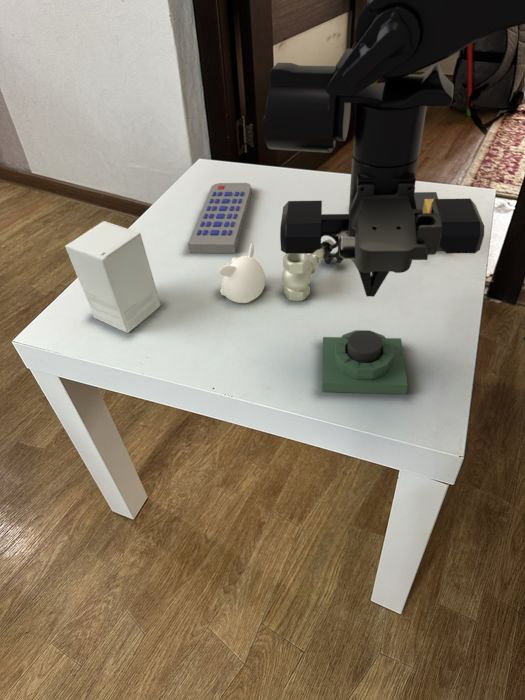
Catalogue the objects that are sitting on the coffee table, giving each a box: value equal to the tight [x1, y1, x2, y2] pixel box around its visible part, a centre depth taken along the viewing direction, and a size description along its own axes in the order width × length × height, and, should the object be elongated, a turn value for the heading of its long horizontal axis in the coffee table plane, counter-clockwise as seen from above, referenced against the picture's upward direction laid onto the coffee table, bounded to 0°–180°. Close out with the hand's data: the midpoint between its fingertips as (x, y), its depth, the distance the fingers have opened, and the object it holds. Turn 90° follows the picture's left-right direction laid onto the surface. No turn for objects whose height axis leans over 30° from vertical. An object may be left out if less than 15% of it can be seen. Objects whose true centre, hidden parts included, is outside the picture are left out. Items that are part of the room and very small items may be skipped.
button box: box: [321, 329, 409, 395], centre depth 61 cm, size 10×8×4 cm
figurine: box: [218, 242, 266, 304], centre depth 73 cm, size 8×6×7 cm
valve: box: [281, 235, 345, 302], centre depth 74 cm, size 7×7×12 cm
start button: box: [347, 329, 382, 363], centre depth 60 cm, size 4×4×2 cm
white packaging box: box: [64, 220, 161, 334], centre depth 70 cm, size 7×7×13 cm
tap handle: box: [423, 199, 434, 213], centre depth 77 cm, size 5×1×5 cm, turn 174°
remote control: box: [187, 182, 252, 254], centre depth 91 cm, size 8×23×2 cm, turn 173°
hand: (370, 294), depth 54 cm, fingers closed
